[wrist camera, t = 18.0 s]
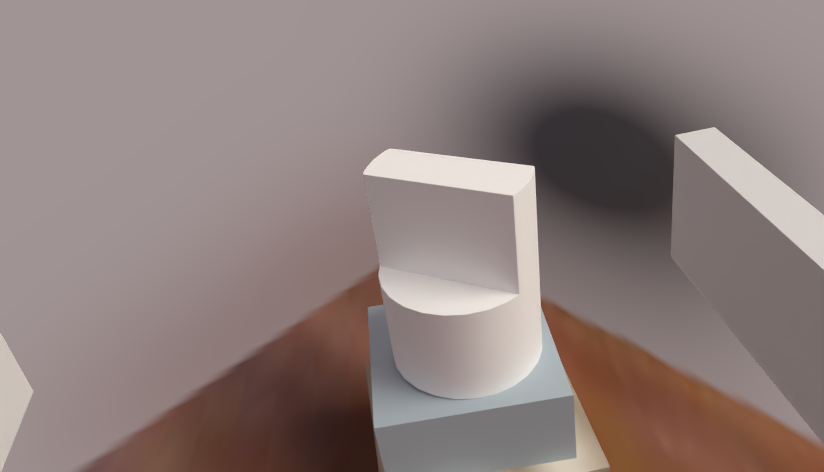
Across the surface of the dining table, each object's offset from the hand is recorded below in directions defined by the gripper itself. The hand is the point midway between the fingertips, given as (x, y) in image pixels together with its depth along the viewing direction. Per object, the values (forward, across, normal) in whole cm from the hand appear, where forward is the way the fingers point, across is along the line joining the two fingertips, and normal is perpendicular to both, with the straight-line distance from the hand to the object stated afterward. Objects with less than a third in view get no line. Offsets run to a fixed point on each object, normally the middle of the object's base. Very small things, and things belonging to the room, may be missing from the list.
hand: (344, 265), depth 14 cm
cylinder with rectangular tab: (+23, +5, -23) cm, 33 cm away
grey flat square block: (+23, +4, -28) cm, 36 cm away
